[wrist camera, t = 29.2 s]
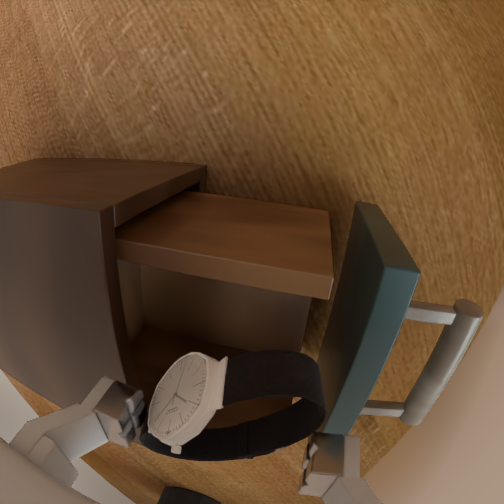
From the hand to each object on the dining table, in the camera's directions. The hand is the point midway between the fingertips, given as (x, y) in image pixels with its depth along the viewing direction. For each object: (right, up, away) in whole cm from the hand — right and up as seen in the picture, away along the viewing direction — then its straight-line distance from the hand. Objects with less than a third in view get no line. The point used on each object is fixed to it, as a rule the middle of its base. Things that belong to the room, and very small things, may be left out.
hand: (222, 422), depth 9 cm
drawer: (+3, +4, +9) cm, 10 cm away
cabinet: (-9, +6, +11) cm, 16 cm away
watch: (0, +1, +2) cm, 2 cm away
